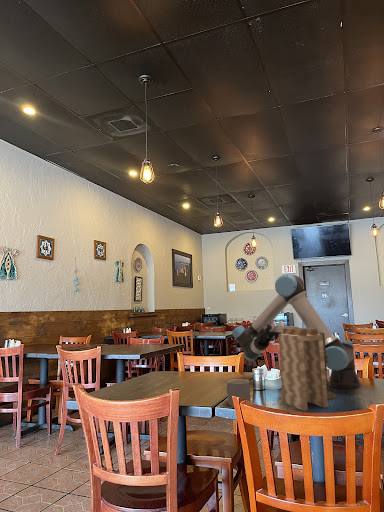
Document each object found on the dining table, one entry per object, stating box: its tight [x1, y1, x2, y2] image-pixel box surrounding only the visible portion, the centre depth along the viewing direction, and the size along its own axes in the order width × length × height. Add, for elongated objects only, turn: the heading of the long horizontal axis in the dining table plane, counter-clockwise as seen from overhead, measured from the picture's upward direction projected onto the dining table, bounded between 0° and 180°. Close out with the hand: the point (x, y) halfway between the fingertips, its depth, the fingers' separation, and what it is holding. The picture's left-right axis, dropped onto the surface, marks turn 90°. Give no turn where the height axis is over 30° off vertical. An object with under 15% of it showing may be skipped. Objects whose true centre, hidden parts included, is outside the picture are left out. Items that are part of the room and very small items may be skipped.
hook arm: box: [266, 323, 299, 334], centre depth 187 cm, size 23×4×4 cm, turn 18°
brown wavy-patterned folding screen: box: [278, 327, 329, 412], centre depth 171 cm, size 16×12×32 cm
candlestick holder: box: [320, 332, 338, 400], centre depth 182 cm, size 9×9×30 cm
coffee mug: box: [226, 378, 252, 407], centre depth 175 cm, size 13×10×10 cm
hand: (278, 323), depth 190 cm, fingers open, 3 cm apart
